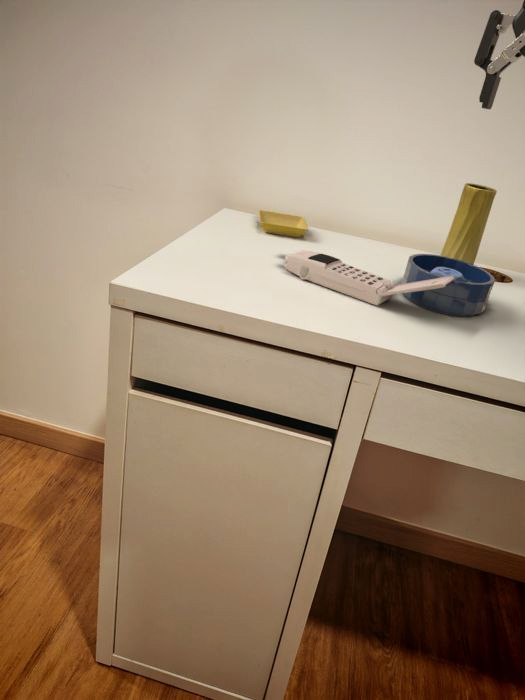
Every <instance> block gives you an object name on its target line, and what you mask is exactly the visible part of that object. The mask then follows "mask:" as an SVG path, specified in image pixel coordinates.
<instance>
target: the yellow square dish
mask: <svg viewBox="0 0 525 700" xmlns="http://www.w3.org/2000/svg"><path fill="white" fill-rule="evenodd" d="M258 222H259V225H260V227H261V229H262V230H263V232H265V233H267V234H275V235H279V236H285V237H286V236H287V237H293V238H299V237H302V236H303V235H305V234H306V232H308V230H309V228H308V225H307V222H306V218H305V217H304V216H300V215H294V214H289V213H282V212H275V211H268V210H262V209H259V210H258Z"/></svg>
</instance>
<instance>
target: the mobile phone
mask: <svg viewBox="0 0 525 700" xmlns="http://www.w3.org/2000/svg"><path fill="white" fill-rule="evenodd" d="M284 260H285V261H284V263H283V266H284V268H285V269H286V270H287V271H290V272H291V273H293V274H295V275H296V276H299V278H300V279H301V280H307V281H309V282H310V283H311V282H312V283H314V284H317V285H319V286H322V287H325V288H328V289H330V290H334V291H335V292H338V293H341V294H344V295H347V296H349V297H351V298H355V299H357V300H360V301H363V302H366V303H369V304H371V305H374V306H379V305H381V304H382V303H385V302H386V301H388V300H389V299H391V297H392V296H393V295H400V294H403V293H408V292H415V291H423V290H430V289H436V288H442V287H446V286H448V285H449V284H451V283H452V282H453V281H454V280H455V279H454V276H448V277H441V278H436V279H430V280H424V281H418V282H412V283H406V284H397V283H396V282H395V281H394V280H393V281H392V280H390V279H387V278H385V277H382V276H379V275H377V274H374V273H371V272H368V271H366V270H364V269H361V268H358V267H356V266H353V265H351V264H348V263H346V262H343V261H342V260H341V258H338V257H335V256H332V255H329V254H326V253H321V252H318V251H313V250H306V249H305V250H300V251H295V252H292V253H289V254H286V255H285V256H284Z"/></svg>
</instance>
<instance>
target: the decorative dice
mask: <svg viewBox="0 0 525 700" xmlns="http://www.w3.org/2000/svg"><path fill="white" fill-rule="evenodd" d="M430 273H432V274H435V275H438V276H441V277H448V276H454V279H455V280H456V281H462V282H465V281H464V277H463V275H462V274H461V273H460V272H458V271H456V270H454V269H451V268H446V267H436V268H435V269H433V270H432V271H431V272H430Z"/></svg>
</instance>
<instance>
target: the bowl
mask: <svg viewBox="0 0 525 700" xmlns="http://www.w3.org/2000/svg"><path fill="white" fill-rule="evenodd" d="M405 266H406V267H405V270H404V274H403V278H402V280H401V284H406V283H412V282H418V281H424V280H430V279H436V278H441V276H438V275H435V274H432V273H430V272H431V271H432V270H433V269H435V268H436V267H446V268H451V269H454V270H456V271H458V272H460V273H461V274H462V275H463V277H464V281H465V282H462V281H456V280H454V281H453V282H452V283H451V284H449V285H448V286H446V287H442V288H436V289H430V290H423V291H415V292H408V293H402V294H403V296H404V297H405V298H407V300H409V301H410V302H412V303H414V304H416V305H417V306H420V307H421V308H424V309H426V310H429V311H432V312H436V313H440V314H442V315H443V314H444V315H449V316H456V317H472V316H476V315H479V314H481V313H483V312H484V311H485V308H486V307H487V303H488V301H489V298H490V296H491V293H492V291H493V288H494V285H495V282H496V280H495V277H494V275H492V274H491V273H490V272H489V271H487V270H485V269H483V268H482V267H479V266H477V265H475V264H474V265H473V264H470V263H467V262H464V261H461V260H457V259H454V258H450V257H445V256H441V254H440V255H439V254H432V253H415V254H412V255H410V256H408V260H407V263H406V265H405Z"/></svg>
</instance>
